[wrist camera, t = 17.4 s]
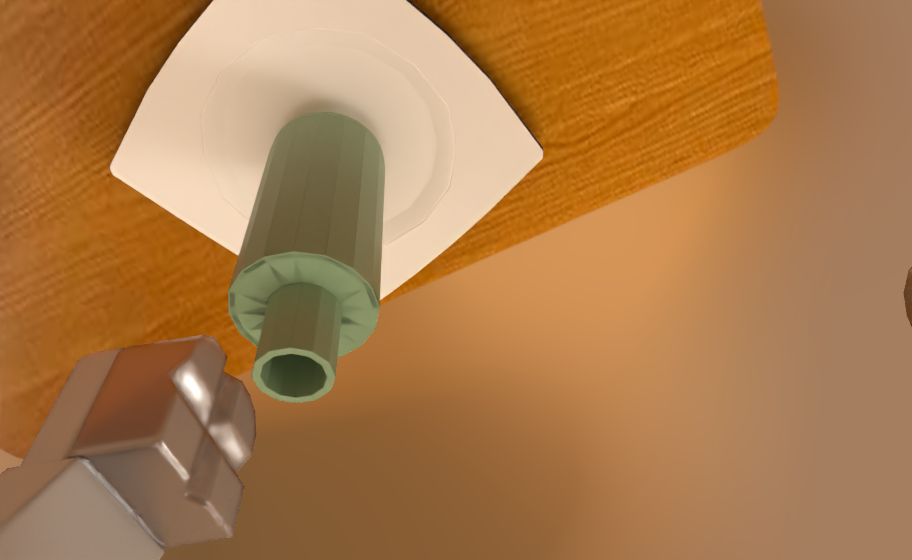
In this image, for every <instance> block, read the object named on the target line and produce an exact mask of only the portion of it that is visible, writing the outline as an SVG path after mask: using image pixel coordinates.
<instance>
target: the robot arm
mask: <svg viewBox="0 0 912 560" xmlns="http://www.w3.org/2000/svg"><path fill="white" fill-rule="evenodd" d="M904 298H905V306H906V312H907V317H908V319H909V321H910V324H911V326H912V267H911V268H910V270H909V271H908V276H907V280H906V285H905V289H904ZM226 360H227V355H226V354H225V352H224V351H223V349H222V348H221V346H220V345H219V343H218V342H217V340H216V338H214V337H210V336H206V335H201V336H195V337H188V338H182V339H175V340H168V341H162V342H155V343H148V344H142V345H135V346H129V347H127V348H120V349H114V350H107V351H101V352H94V353H89V354H88V355H86V356H85V357H83V358H81V359H80V360H78V361H77V363H76V365H75V367H74V369H73V371H72V372H71V374H70V376H69V378H68V380H67V382H66V383H65V385H64V387H63V389H62V391H61V393H60V394H59V396H58V398H57V400H56V402H55V404H54V405H53V407H52V409H51V411H50V413H49V414H48V416H47V418H46V420H45V422H44V424H43V425H42V427H41V429H40V431H39V433H38V435H37V436H36V438H35V440H34V442H33V444H32V446H31V447H30V449H29V451H28V453H27V455H26V457H25V458H24V460H23V462H22V464H21V466H19V467H13V468H7V469H6V470H5V471H4V472H2V474H0V560H159V559H160V558H161V557H162V555H163V554H164V550H163V549H164V548H170V547H176V546H181V545H187V544H193V543H199V542H204V541H210V540H216V539H222V538H227V537H232V536H233V532H234V528H235V524H236V519H237V515H238V511H239V507H240V503H241V499H242V494H243V490H244V485H243V483H242V482H241V480H240V479H239V477H238V475H237V474H236V472H237V471H238V470H239V469H240V467H241V466H242V465H243V464H244V463H245V462H246V461H247V460H248V458H250V456H251V455H252V452H253V447H254V443H255V438H256V422H255V410H254V406H253V403H252V400H251V397H250V394H249V393H248V391H247V389H246V387H245V386H244V384H243V382H242V381H240V380H239V379H237V378H235V377H233V376H231V375H229V374H228V373H226V372H224V371H223V370H224V367H225V363H226Z"/></svg>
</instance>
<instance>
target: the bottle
mask: <svg viewBox="0 0 912 560" xmlns="http://www.w3.org/2000/svg"><path fill="white" fill-rule="evenodd" d="M384 186H385V163H384V156H383V152H382V149H381V146H380V144H379V143H378V141H377V139H376V138H375V136H374V135H373V134H372V133H371V132H370V131H369V130H368V129H367V128H366V127H365V126H364V125H362V124H361V123H359V122H358V121H356V120H354V119H352V118H350V117H348V116H345V115H342V114H338V113H334V112H313V113H308V114H304V115H301V116H299V117H297V118H295V119H293V120H291V121H290V122H288V123H287V124H286V125H285V126H284V127H283V128H282V129H281V130H280V131H279V133H278V134H277V136H276V138H275V140H274V142H273V145H272V146H271V148H270V151H269V155H268V158H267V162H266V165H265V168H264V172H263V175H262V179H261V182H260V185H259V189H258V192H257V196H256V199H255V202H254V206H253V209H252V213H251V216H250V219H249V223H248V226H247V230H246V233H245V236H244V240H243V243H242V247H241V250H240V253H239V257H238V260H237V264H236V267H235V270H234V274H233V277H232V281H231V284H230V287H229V291H228V312H229V314H230V316H231V318H232V320H233V321H234V323H235V325H236V327H237V329H238V330H239V332H240V333H241V334H242V335H243V336H244V337H246V338H247V339H248V340H249V341H251V342H252V343H253V344H254V345H256V346H257V347H258V348H257V353H256V357H255V362H254V366H253V371H252V378H253V379H254V381H255V383H256V385H257V386H258V388H259V389H260V390H261V391H262V392H264V393H266V394H267V395H269V396H271V397H273V398H275V399H276V400H281V401H287V402H293V403H300V402H306V401H312V400H316V399H318V398H320V397H321V396H323V395H324V394H326V393H327V392H329V391H330V390H331V388H332V385H333V382H334V379H335V376H336V366H337V357H340V356H343V355H345V354H347V353H348V352H350V351H352V350H354V349H356V348H358V347H360V346H361V345H362V344H363V343H364V342H365V341H366V339H367V338H368V337H369V336H370V335H371V333H372V332H373V331H374V330H375V328H376V324H377V319H378V313H379V308H380V283H381V259H382V235H383V210H384Z"/></svg>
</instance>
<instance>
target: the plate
mask: <svg viewBox="0 0 912 560" xmlns="http://www.w3.org/2000/svg"><path fill="white" fill-rule="evenodd" d="M313 112H334V113H338V114H342V115H345V116H348V117H350V118H352V119H354V120H356V121H358V122H359V123H361V124H362V125H364V126H365V127H366V128H367V129H368V130H369V131H370V132H371V133H372V134H373V135H374V136H375V138H376V139H377V141H378V143H379V144H380V146H381V149H382V152H383V156H384V163H385V186H384V210H383V235H382V259H381V283H380V300H381V299H383V298H384V297H385V296H387V295H388V294H389V293H391V292H392V291H393V290H395V289H396V288H397V287H399V286H400V285H401V284H403V283H404V282H405V281H407V280H408V279H409V278H411V277H412V276H413V275H415V274H416V273H417V272H419V271H420V270H421V269H422V268H424V267H425V266H426V265H427V264H428V263H430V262H431V261H432V260H433V259H435V258H436V257H437V256H438V255H440V254H441V253H442V252H443V251H444V250H446V249H447V248H448V247H449V246H451V245H452V244H453V243H454V242H455V241H456V240H457V239H459V238H460V237H461V236H462V235H463V234H464V233H465V232H466V231H468V230H469V229H470V228H471V227H472V226H473V225H474V224H475V223H476V222H478V221H479V220H480V219H481V218H482V217H483V216H484V215H485V214H487V213H488V212H489V211H490V210H491V209H492V208H493V207H494V206H495V205H496V204H497V203H498V202H499V201H500V200H501V199H502V198H503V197H504V196H505V195H506V194H507V193H508V192H509V191H510V190H511V189H512V188H513V187H514V186H515V185H516V184H517V183H518V182H519V181H520V180H521V179H522V178H523V177H524V176H525V175H526V174H527V173H528V172H529V171H530V170H531V169H532V168H533V167H534V166H535V165H536V164H537V163H538V162H540V161H541V160H542V159H543V147H542V146H541V145H540V143H539V142H538V141H537V139H536V138H535V137H534V135H533V134H532V133H531V132H530V130H529V129H528V128H527V126H526V125H525V124H524V122H523V121H522V120H521V118H520V117H519V116H518V114H517V113H516V112H515V110H514V109H513V108H512V106H511V105H510V104H509V103H508V101H507V100H506V99H505V97H504V96H503V95H502V93H501V92H500V91H499V89H498V88H497V87H496V85H495V84H494V83H493V81H492V80H491V79H490V77H489V76H488V75H487V74H486V73H485V72H484V71H483V70H482V69H481V68H480V67H479V66H478V65H477V64H476V63H475V62H474V61H473V59H472V58H471V57H470V56H469V55H468V54H467V53H466V52H465V51H464V50H463V49H462V48H461V47H460V46H459V45H458V44H457V43H456V42H455V40H454V39H453V38H452V37H451V36H450V35H449V34H448V33H447V32H446V31H445V30H443V29H442V28H441V27H440V26H439V25H437V24H436V23H435V22H434V21H433V20H432V19H430V18H429V17H428V16H427V15H426V14H425V13H423V12H422V11H421V10H420V9H419V8H417V7H416V6H415V5H414V4H413V3H412V2H410V1H409V0H212V1H211V3H210V4H209V5H208V6H207V8H206V9H205V10H204V11H203V13H202V14H201V15H200V16H199V17H198V19H197V20H196V21H195V22H194V24H193V25H192V26H191V27H190V29H189V30H188V31H187V32H186V33H185V35H184V36H183V37H182V38H181V40H180V41H179V42H178V44H177V45H176V47H175V48H174V50H173V51H172V53H171V54H170V56H169V57H168V59H167V60H166V62H165V64H164V65H163V67H162V68H161V70H160V71H159V73H158V74H157V76H156V77H155V79H154V80H153V82H152V83H151V85H150V86H149V88H148V90H147V92H146V94H145V96H144V98H143V100H142V102H141V104H140V106H139V108H138V110H137V112H136V114H135V116H134V118H133V120H132V123H131V125H130V127H129V129H128V131H127V133H126V135H125V137H124V139H123V141H122V143H121V145H120V147H119V149H118V151H117V153H116V155H115V157H114V159H113V161H112V163H111V165H110V169H111V172H112V174H113V175H114V176H115V177H117V178H119V179H120V180H122V181H123V182H125V183H126V184H128V185H129V186H131V187H132V188H134V189H135V190H137V191H138V192H140V193H141V194H143V195H145V196H146V197H148V198H149V199H151V200H152V201H154V202H155V203H157V204H158V205H160V206H161V207H163V208H164V209H166V210H168V211H169V212H171V213H172V214H174V215H175V216H177V217H178V218H180V219H181V220H183V221H184V222H186V223H187V224H189V225H190V226H192V227H194V228H195V229H197V230H198V231H200V232H202V233H203V234H205V235H206V236H208V237H209V238H211V239H213V240H214V241H216V242H217V243H219V244H221V245H222V246H224V247H225V248H227V249H228V250H230V251H232V252H233V253H235V254H236V255H238V256H239V253H240V250H241V247H242V243H243V240H244V236H245V233H246V230H247V226H248V223H249V219H250V216H251V213H252V209H253V206H254V202H255V199H256V196H257V192H258V189H259V185H260V182H261V179H262V175H263V172H264V168H265V165H266V162H267V158H268V155H269V151H270V148H271V146H272V145H273V142H274V140H275V138H276V136H277V134H278V133H279V131H280V130H281V129H282V128H283V127H284V126H285V125H286V124H287V123H288V122H290V121H291V120H293V119H295V118H297V117H299V116H301V115H304V114H308V113H313Z"/></svg>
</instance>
